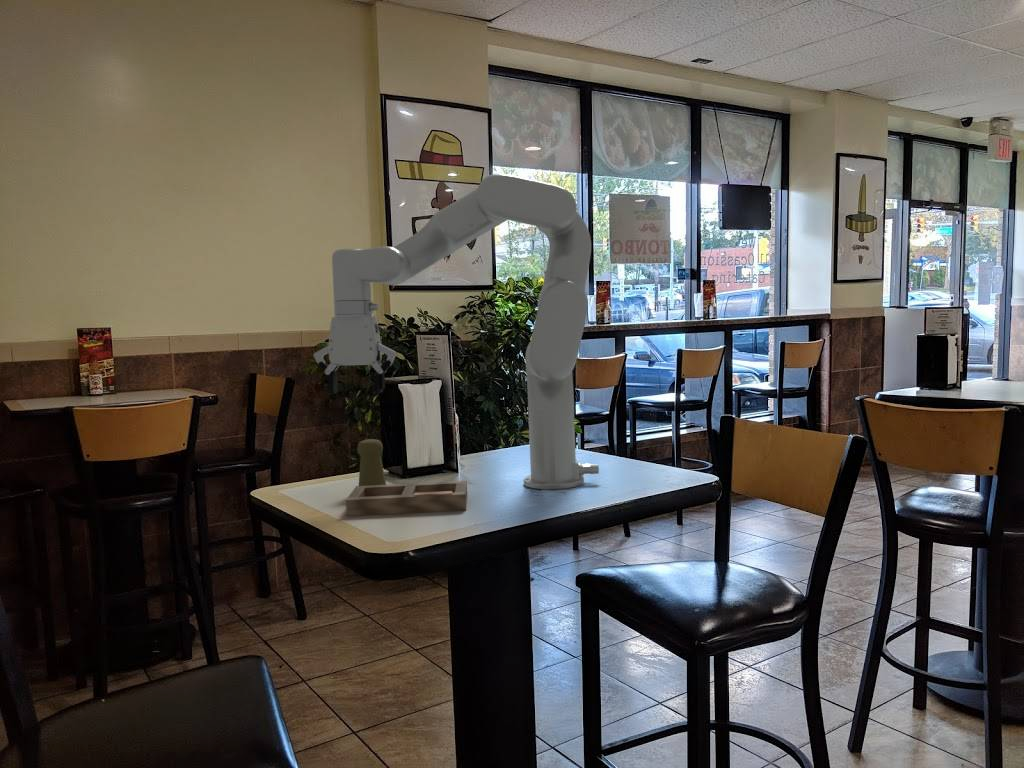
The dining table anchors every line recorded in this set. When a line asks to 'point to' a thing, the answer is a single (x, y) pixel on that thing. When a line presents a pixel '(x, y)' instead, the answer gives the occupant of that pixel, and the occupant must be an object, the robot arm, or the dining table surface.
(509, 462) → the dining table surface
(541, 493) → the dining table surface
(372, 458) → the olive tall rounded piece
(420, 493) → the caddy
